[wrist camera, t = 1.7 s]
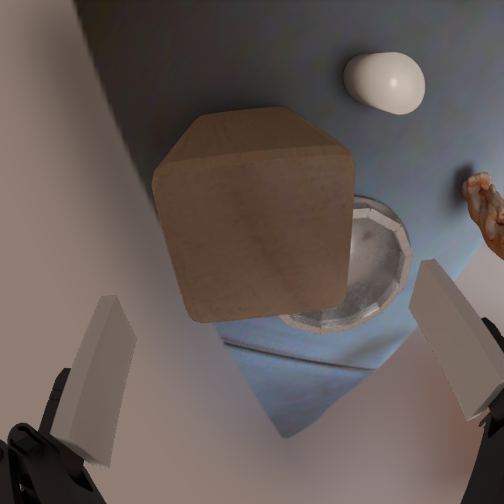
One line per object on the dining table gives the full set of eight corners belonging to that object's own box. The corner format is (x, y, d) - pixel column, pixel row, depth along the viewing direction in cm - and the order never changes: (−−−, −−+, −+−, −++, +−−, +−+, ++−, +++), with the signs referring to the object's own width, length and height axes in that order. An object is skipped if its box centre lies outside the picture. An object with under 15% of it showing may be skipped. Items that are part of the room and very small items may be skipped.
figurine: (475, 160, 33) (549, 209, 20) (476, 206, 37) (539, 262, 24) (444, 171, 34) (518, 226, 21) (447, 219, 38) (509, 281, 25)
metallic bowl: (251, 202, 36) (253, 211, 34) (419, 191, 35) (428, 198, 33) (264, 332, 47) (265, 344, 45) (393, 313, 47) (398, 323, 45)
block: (208, 200, 35) (187, 331, 18) (194, 115, 30) (141, 173, 13) (294, 190, 35) (349, 312, 18) (289, 104, 30) (363, 149, 13)
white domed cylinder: (341, 52, 26) (367, 48, 20) (391, 56, 26) (424, 57, 20) (344, 104, 30) (369, 113, 24) (392, 106, 30) (424, 116, 24)
